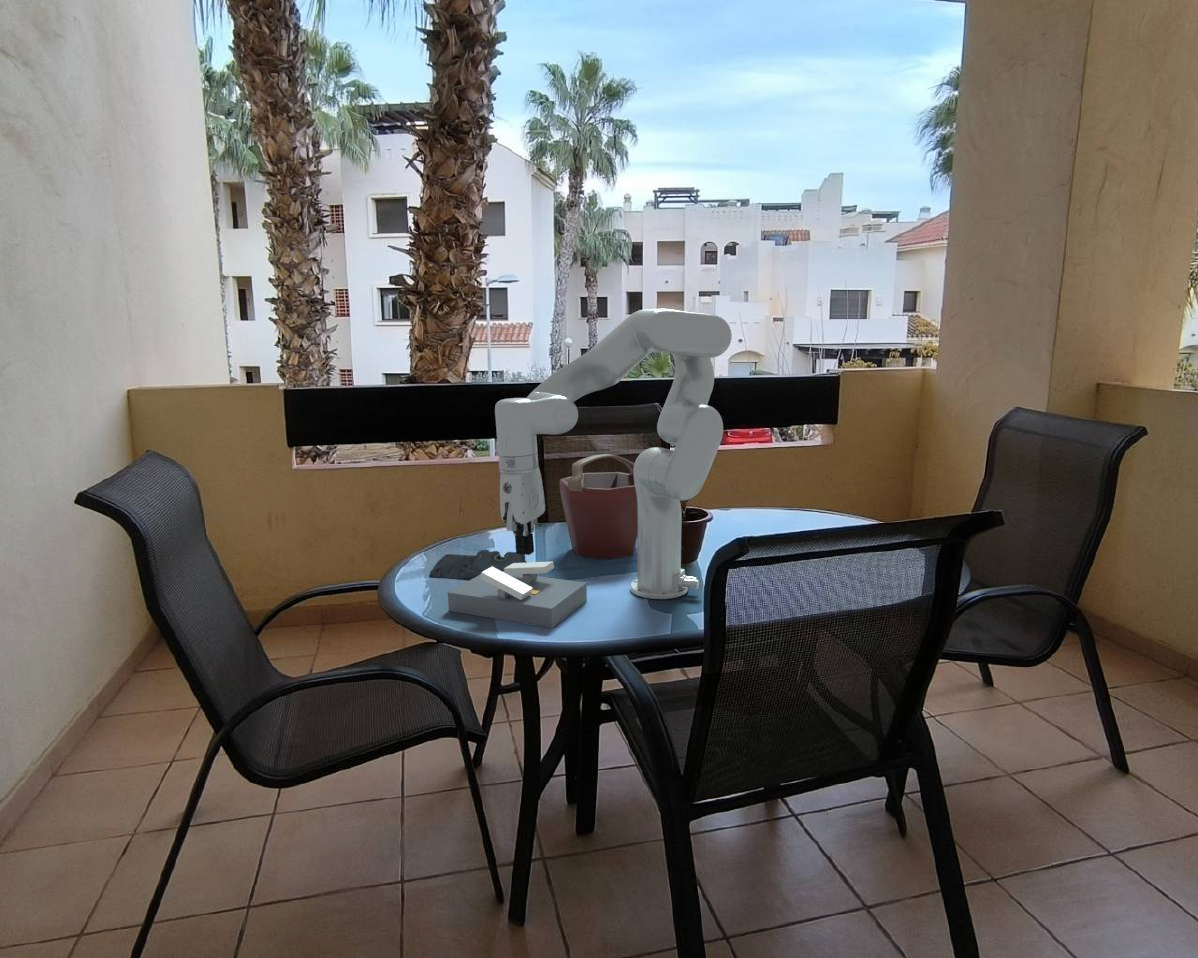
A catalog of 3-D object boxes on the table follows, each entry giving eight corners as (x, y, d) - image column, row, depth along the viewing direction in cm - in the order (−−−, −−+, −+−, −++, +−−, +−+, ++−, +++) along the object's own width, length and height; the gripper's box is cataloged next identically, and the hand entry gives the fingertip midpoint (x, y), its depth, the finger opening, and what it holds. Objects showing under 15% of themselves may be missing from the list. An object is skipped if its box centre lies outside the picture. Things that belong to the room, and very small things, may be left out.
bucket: (582, 568, 181) (580, 466, 176) (542, 546, 200) (539, 453, 195) (665, 552, 193) (666, 456, 188) (619, 533, 212) (619, 445, 207)
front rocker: (531, 593, 151) (532, 587, 151) (521, 600, 148) (523, 594, 147) (490, 572, 155) (492, 566, 154) (479, 578, 151) (481, 572, 151)
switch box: (586, 600, 159) (586, 575, 158) (552, 628, 145) (551, 600, 144) (490, 586, 169) (489, 562, 168) (448, 610, 154) (447, 584, 153)
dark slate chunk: (448, 560, 190) (447, 542, 189) (532, 564, 186) (532, 546, 185) (423, 580, 175) (422, 560, 174) (514, 585, 171) (513, 565, 170)
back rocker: (554, 567, 160) (553, 561, 160) (545, 573, 156) (544, 566, 156) (514, 569, 164) (513, 563, 164) (504, 574, 160) (503, 568, 160)
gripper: (516, 471, 137) (523, 567, 141) (553, 456, 150) (559, 543, 154) (481, 469, 140) (489, 563, 144) (520, 454, 153) (527, 540, 157)
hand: (525, 552), depth 149 cm, fingers closed
